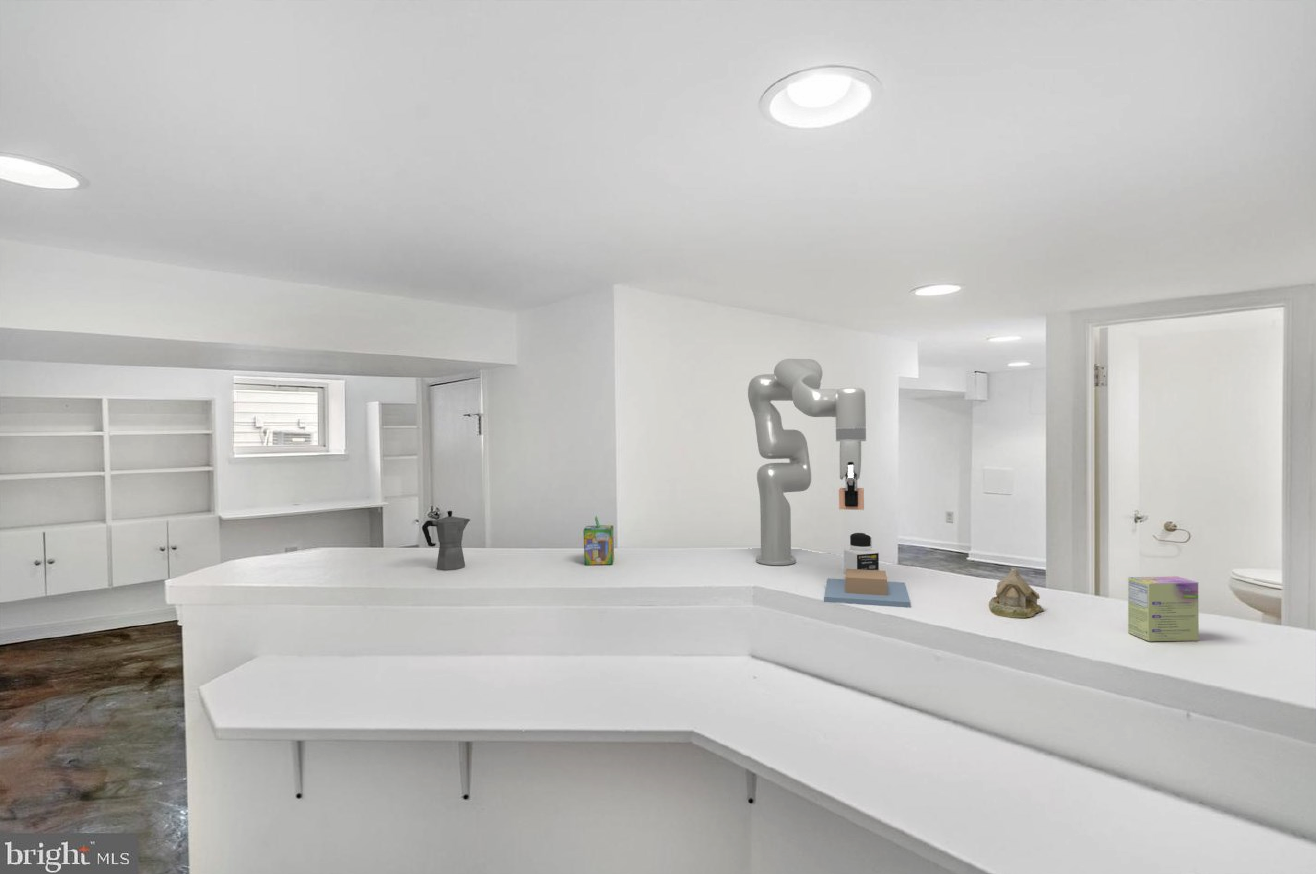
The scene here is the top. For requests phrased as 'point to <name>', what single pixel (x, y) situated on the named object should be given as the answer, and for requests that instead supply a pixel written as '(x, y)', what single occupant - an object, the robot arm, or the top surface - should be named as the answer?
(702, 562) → the top surface
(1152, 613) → the box
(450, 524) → the coffeepot
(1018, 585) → the ceramic model
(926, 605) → the top surface
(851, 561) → the medicine bottle
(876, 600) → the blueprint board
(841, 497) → the terracotta block
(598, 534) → the chalk box
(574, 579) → the top surface
